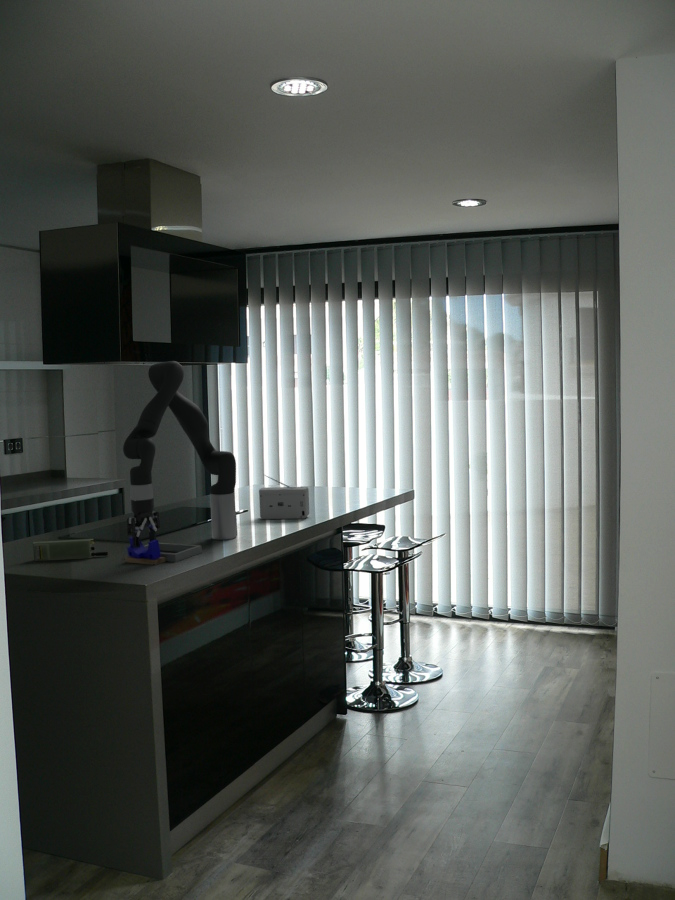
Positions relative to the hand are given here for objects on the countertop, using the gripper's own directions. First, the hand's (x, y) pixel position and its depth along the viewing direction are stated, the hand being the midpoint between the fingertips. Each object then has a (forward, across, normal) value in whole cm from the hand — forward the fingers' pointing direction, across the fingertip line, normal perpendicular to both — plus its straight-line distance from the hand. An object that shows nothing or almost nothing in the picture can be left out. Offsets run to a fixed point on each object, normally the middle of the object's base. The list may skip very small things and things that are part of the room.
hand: (144, 545), depth 287 cm
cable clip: (+4, 0, 0) cm, 4 cm away
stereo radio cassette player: (+7, -90, +3) cm, 90 cm away
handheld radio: (+6, +4, -29) cm, 30 cm away
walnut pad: (+6, 0, 0) cm, 6 cm away
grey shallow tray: (+6, -11, 0) cm, 12 cm away
